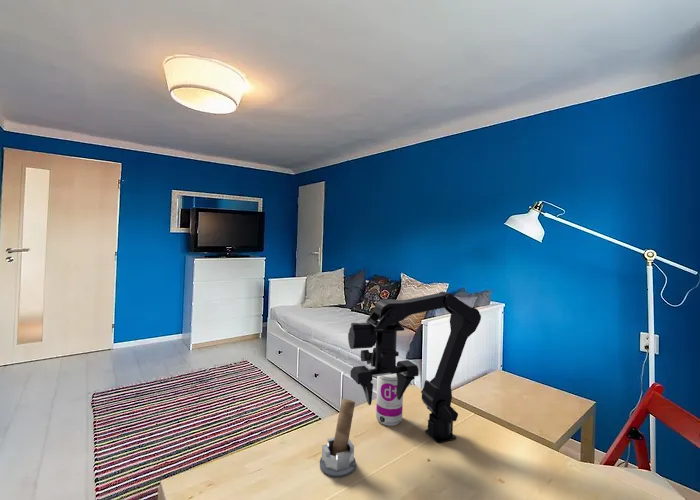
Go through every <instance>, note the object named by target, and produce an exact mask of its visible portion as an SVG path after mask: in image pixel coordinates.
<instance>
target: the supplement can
mask: <svg viewBox="0 0 700 500" xmlns="http://www.w3.org/2000/svg"><path fill="white" fill-rule="evenodd" d="M376 377H377V378H376V408H375V409H376V411H375V417H376V420H377V421H378V422H379V423H380V424H381V425H384V426H387V427H391V426H397V425H399V424H400V423H401V422H402V420H403V411H404V410H403V406H404V405H403V403H404V402H403V401H404V394H403V395H402V397H401V399H400V400H398V399H397V375H396V373H395V374H388V375H381V376H376Z"/></svg>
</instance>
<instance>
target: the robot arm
mask: <svg viewBox="0 0 700 500" xmlns="http://www.w3.org/2000/svg"><path fill="white" fill-rule="evenodd" d="M438 309H444V310H445V311H446V312H448V313H449V314H450V318H449V326H450V327H449V328H450V332H449V336H448V338H447V341H446V344H445V348H444V350H443V353H442V356H441V359H440V360H439V364H438V367H437V369H436V373H435V375H434V377H433V378H431V380H430V381H429V380H427V379H426V380H425V381H424V384H423V388H422V390H421V391H420V393H421V401H422V403H423V404H424V405H425V407H426V408H427V410H428V411H430V412H431V413H428V414H429V416H428V419H427V429H425V430H424V431H425V433H426V434H427V435H428V436H430V438H432V439H433V440H434V441H435V442H436V443H437V444H440V443H441V444H442V443H444V442H446V443H447V442H448V441H450V442H451V441H453V440H456V439H457V436H456V435H455V434H453V432H454V422H456V421H457V420H458V416H459V413H458V411H456V409H454V408H453V407H452V406H451V404H452V400H453V395H452V394H453V391H452V384H453V380H454V377H455V374H456V372H457V368H458V366H459V363H460V360H461V357H462V355H463V351H464V349H465V345H466V343H467V340H468V338H469V337H470V336H471V335H473V333H474V332H476V330H477V329H478V327H479V325H480V323H481V319H482V315H481V313H480V311H479V309H477V308H476V307H473V306H470V305H468V304H466V303H465V302H463V301H462V300H460V299H458V298H457V296H455V295H454V294H452V293H450V292H447V291H440V292H436V293H433V294H429V295H422V296H417V297H413V298H409V299H408V298H407V299H393V298H392V299H380V300H378V301H377V302H376V304H375V305H374V309H373V311H372V313H371V314H370V315H369V316H368V318H367V319H366V322H351V323H350V328H349V329H348V330H349V331H348V334H347V340H348V345H349V348H350V349H351V350H357V349H360V361H361V362H366V364H367V365H370V366H371V367H372V369H369V368H368V367H366V366H365V365H360V366H353V367H352V368H351V370H350V378H351V379H352V380H354V382H355V383H356V384H357V385H360V386H361V387H362V389H363V392H364V396H365V399H366V402H367V405H368V406H371V405H372V401H373V389H374V383H373V382H372V381H373V377H377V376H381V375H388V374H395V373H396V375H397V399H398V400H400V399H401V397H402V395H403V396H404V393H405V392H406V390H407V388H408V387H409V386H410V384H411V382H412V381H413V380H415V377H419V374H420V373H419V372H420V369H419V367H418V365H417V364H415V363H414V362H412V361H410V360H409V359H405V360H399V361H397V357H399V351H397V343H398V342H397V341H398V340H397V339H398V338H397V336H398V335H397V334H398V332H400V331H401V332H403V331H405V328H404V327H403V326H402V325H401V323H400V322H402V321H404V320H405V319H406V318H408V317H409V316H412V315H416V314H421V313H426V312H429V311H435V310H438ZM361 349H362V350H361ZM369 349H372V352H370V351H369Z"/></svg>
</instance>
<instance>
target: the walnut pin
mask: <svg viewBox="0 0 700 500" xmlns="http://www.w3.org/2000/svg"><path fill="white" fill-rule="evenodd" d="M355 406H356V402H355V400H354V401H353V400H351V399H345V398H343V399H342V398H341V401H340V406H339V411H338V417H337V423H336V428H335V432H334V437H333V438H334V443H333V449H332V454H331V455H333V456H336V453H340V452H344V451H347V446H348V440H350V434H351V427H352V423H353V417H354V411H355Z"/></svg>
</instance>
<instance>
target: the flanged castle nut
mask: <svg viewBox="0 0 700 500" xmlns="http://www.w3.org/2000/svg"><path fill="white" fill-rule="evenodd" d="M334 438H335V437H331V438H327V443H325V444H323V445H321V457H320V460H319V468H320V469H319V470H320V471H321V472H322V473H323V474H324V475H326V476H328V477H331V478H338V479H339V478H344V477H347V476H349V475H351V474H352V473H353V472H354V471H355V470H356V457H355V445H354V444H353V443H352V441H351V440H350V439H349V440H348V446H347V451H344V452H340V453H336V456H333V455H331V454H332V449H333V443H334Z"/></svg>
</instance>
